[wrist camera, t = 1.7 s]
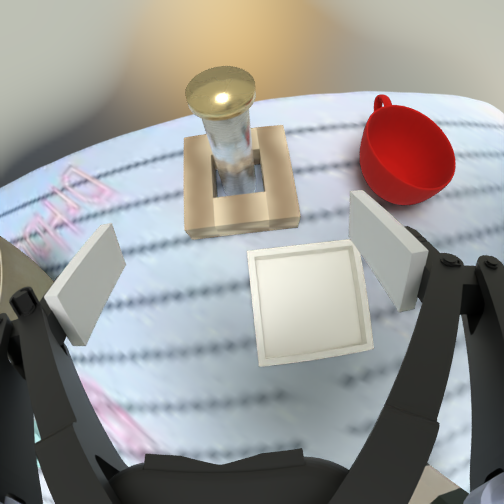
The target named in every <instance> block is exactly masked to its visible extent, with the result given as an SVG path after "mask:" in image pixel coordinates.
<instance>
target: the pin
mask: <svg viewBox="0 0 504 504" xmlns="http://www.w3.org/2000/svg"><path fill="white" fill-rule="evenodd" d="M185 96H186V99H187V102H188V105H189V108H190V110H191V111H192V112H193V113H194V114H195V115H196V116H198V117H200V118H202V121H203V124H204V128H205V131H206V134H207V137H208V140H209V144H210V147H211V150H212V153H213V156H214V160H215V163H216V166H217V169H218V172H219V175H220V179H221V182H222V185H223V188H224V191H225V194H226V195H227V196H232V195H240V194H248V193H254V192H255V189H256V180H255V169H254V159H253V148H252V138H251V128H250V118H249V108H250V107H251V106H252V104H253V102H254V100H255V96H256V93H255V81H254V79H253V77H252V76H251V75H250V74H249V73H248V72H247V71H245V70H243V69H240V68H237V67H231V66H221V67H215V68H211V69H208V70H205V71H203V72H201V73H200V74H198V75H197V76H195V77H194V78H193V79H192V80H191V81H190V82H189V84H188V86H187V88H186V92H185Z"/></svg>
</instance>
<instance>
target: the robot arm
mask: <svg viewBox="0 0 504 504" xmlns="http://www.w3.org/2000/svg"><path fill="white" fill-rule="evenodd" d="M349 238H350V239H351V241H352V242H353V244H354V245H355V246H356V248H357V249H358V251H359V252H360V254H361V255H362V257H363V258H364V259H365V261H366V262H367V264H368V265H369V267H370V268H371V270H372V271H373V273H374V274H375V276H376V277H377V279H378V280H379V282H380V283H381V285H382V286H383V288H384V289H385V291H386V293H387V294H388V296H389V297H390V299H391V300H392V302H393V304H394V305H395V307H396V308H397V310H398V312H403V311H407V310H412V309H415V305H416V302H417V298H419V299H420V301H421V302H422V306H421V309H420V313H419V316H418V319H417V322H416V326H415V329H414V332H413V335H412V338H411V341H410V343H409V346H408V349H407V352H406V354H405V357H404V360H403V362H402V365H401V367H400V370H399V373H398V375H397V377H396V380H395V382H394V385H393V387H392V389H391V391H390V394H389V396H388V398H387V400H386V403H385V405H384V407H383V409H382V411H381V413H380V415H379V417H378V419H377V421H376V423H375V425H374V427H373V429H372V431H371V433H370V435H369V437H368V439H367V441H366V442H365V444H364V446H363V448H362V450H361V451H360V453H359V455H358V457H357V458H356V460H355V462H354V463H353V465H352V467H351V468H350V470H348V469H346V468H344V467H343V466H341V465H339V464H336V463H334V462H331V461H328V460H324V459H320V458H314V457H304V456H303V450H302V448H301V449H294V450H287V451H279V452H271V453H262V454H258V455H255V456H252V457H249V458H245V459H242V460H238V461H235V462H231V463H227V464H223V465H216V464H212V463H207V462H203V461H199V460H195V459H191V458H187V457H183V456H173V455H157V454H145V461H144V463H140V464H136V465H133V466H131V467H128V466H127V465H126V464H125V463H124V462H123V460H122V459H121V457H120V456H119V454H118V453H117V451H116V449H115V448H114V446H113V444H112V442H111V441H110V439H109V437H108V435H107V434H106V432H105V430H104V428H103V426H102V424H101V423H100V421H99V419H98V417H97V415H96V413H95V411H94V409H93V407H92V405H91V403H90V401H89V399H88V396H87V394H86V392H85V390H84V388H83V385H82V383H81V381H80V379H79V376H78V374H77V371H76V369H75V367H74V364H73V361H72V359H71V356H70V354H69V351H68V348H67V347H66V345H65V344H64V340H65V338H66V336H67V338H68V339H69V341H70V342H71V344H72V345H73V346H86V345H87V342H88V340H89V338H90V336H91V333H92V331H93V329H94V327H95V325H96V323H97V321H98V318H99V316H100V314H101V312H102V310H103V308H104V306H105V304H106V302H107V300H108V298H109V296H110V294H111V292H112V290H113V288H114V286H115V284H116V282H117V281H118V279H119V277H120V275H121V273H122V271H123V269H124V267H125V266H126V263H125V260H124V258H123V255H122V252H121V249H120V246H119V243H118V240H117V237H116V234H115V231H114V228H113V225H112V223H109V224H104V225H100V227H99V228H98V229H97V230H96V231H95V232H94V233H93V235H92V236H91V237H90V238H89V239H88V240H87V242H86V243H85V244H84V245H83V246H82V248H81V249H80V250H79V251H78V253H77V254H76V255H75V256H74V257H73V259H72V260H71V261H70V263H69V264H68V265H67V266H66V268H65V269H64V270H63V272H62V273H61V274H60V275H59V276H58V277H57V278H56V279H55V281H54V282H53V284H52V285H51V286H50V289H48V290H47V292H46V293H45V294H44V296H43V297H42V299H41V300H40V302H39V300H38V299H37V297H36V295H35V293H34V291H33V289H32V287H29V286H28V287H24V288H21V289H20V290H18V291H17V292H15V293H14V294H13V295H12V297H11V298H10V300H9V303H10V305H11V307H12V309H13V310H14V312H15V314H16V315H17V317H18V319H16V320H13V321H11V320H10V319H9V317H8V315H7V314H6V313H1V314H0V504H43V500H42V493H41V486H40V480H39V474H38V466H37V458H38V461H39V464H40V467H41V470H42V473H43V475H44V478H45V481H46V483H47V486H48V488H49V490H50V493H51V495H52V497H53V500H54V502H55V504H408V503H409V501H410V499H411V497H412V495H413V493H414V491H415V489H416V487H417V485H418V482H419V480H420V478H421V476H422V473H423V471H424V469H425V466H426V464H427V461H428V459H429V456H430V454H431V451H432V448H433V446H434V443H435V440H436V437H437V434H438V430H439V423H438V422H437V417H438V413H439V410H440V407H441V403H442V400H443V396H444V392H445V389H446V385H447V381H448V377H449V372H450V368H451V363H452V358H453V353H454V348H455V342H456V337H457V330H458V324H459V316H460V315H461V316H462V321H463V327H464V333H465V339H466V346H467V354H468V363H469V373H470V386H471V406H472V439H471V459H470V494H469V495H468V496H467V498H466V499H465V501H464V503H463V504H504V265H503V264H502V263H501V262H500V261H499V260H498V259H497V258H494V257H493V256H487V255H483V256H480V257H479V258H478V261H477V264H476V266H464V265H463V262H462V261H461V260H460V259H459V258H458V257H456V256H454V255H452V254H448V253H439V252H438V251H437V250H436V249H435V248H434V247H433V246H432V245H431V244H430V243H429V242H427V240H426V239H425V238H424V237H422V235H421V234H420V233H419V232H417V231H416V230H414V229H412V228H410V227H408V226H403V225H402V224H400V223H399V222H398V221H397V220H396V219H395V218H394V217H393V216H392V215H391V214H390V213H388V212H387V211H386V210H385V209H384V208H383V207H382V206H381V205H379V204H378V203H377V202H376V201H375V200H374V199H372V198H371V197H370V196H369V195H368V194H367V193H365V192H364V191H363V190H358V191H350V210H349ZM9 360H10V361H11V363H10V361H9ZM34 416H35V420H36V424H37V427H38V430H39V434H40V437H41V440H40V441H38V442H36V443H35V434H34ZM36 455H37V458H36Z"/></svg>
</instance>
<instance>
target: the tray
mask: <svg viewBox="0 0 504 504" xmlns="http://www.w3.org/2000/svg"><path fill="white" fill-rule="evenodd" d="M247 257H248V267H249V276H250V286H251V295H252V305H253V314H254V324H255V333H256V343H257V352H258V361H259V367H263V366H272V365H281V364H289V363H297V362H304V361H311V360H317V359H323V358H330V357H335V356H341V355H346V354H352V353H357V352H362V351H367V350H372V349H374V346H373V336H372V328H371V320H370V312H369V305H368V298H367V291H366V285H365V278H364V272H363V267H362V261H361V256H360V252H359V251H358V249H357V248H356V246H355V245H354V244H353V242H352V241H351V239H347V240H338V241H330V242H321V243H312V244H303V245H294V246H286V247H277V248H268V249H259V250H251V251H247Z"/></svg>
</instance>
